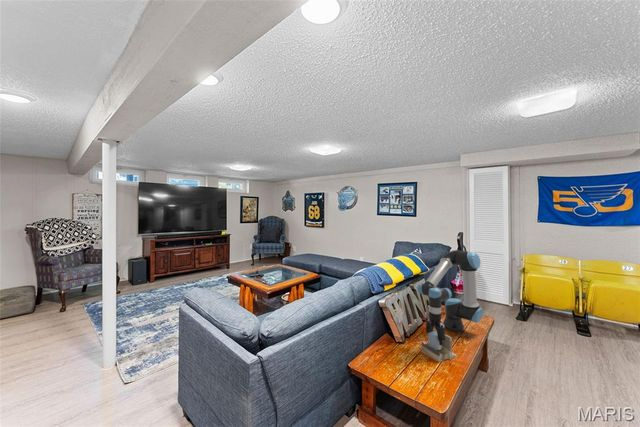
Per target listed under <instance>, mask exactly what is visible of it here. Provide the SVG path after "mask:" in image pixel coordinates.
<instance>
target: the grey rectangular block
mask: <svg viewBox="0 0 640 427" xmlns="http://www.w3.org/2000/svg"><path fill="white" fill-rule="evenodd" d="M427 335H428V336H427V337H428V338H427V341H428V343H427V344H429V347H431V348H433V349H434V350H438V334H437V332H436V331H433V332H430V333H427Z"/></svg>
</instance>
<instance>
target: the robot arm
mask: <svg viewBox="0 0 640 427" xmlns="http://www.w3.org/2000/svg"><path fill="white" fill-rule="evenodd" d="M480 258H481V257H480V255H479V254H478V253H477V252H473V251H465V250H456V249H455V250H451V251H448V252H446V253H445V254H444V255H442V257H441V258H440V259H439V262H438V264H437V265H436V266H435V269H434V270H433V271H432V272H431V273H430V275H429V276H428V278H427V279H426V280H425V282H424V283H419V284H418V285H417V287H416V290H417V292H418V293H419V294H421V295H423V296H427V297H428V317H426V318H425V333H427V334H428V333H430V332H433V328H434V329H436V330H437V334H438V350H440V349H442V341H443V340H445V334H446V331H445V330H448V331H451V332H455V333H461V332H464V331H465V326H464V323H463V321H462V320H463V319H464V320H466V321H470V322H472V323H477V324H478V323H479V322H481V321H482V319H483V316H484V309H483V308H482V307H480V303H479V302H478V296H477V295H478V294H477V284H476V282H477V280H476V272H477V271H478V269H479V268H480V266H481V259H480ZM453 266H457V267H459V270H460V271H461V273H462V289H463V291H462V292H463V301H462V299H460V298H452V295H453V293H452V291H451V290H450V289H449V288H448V287H443V288H440V287H437V286H438V285H439V283H440V282H441V281H442V279H443V277H444V276H445V275H446V273H447V272H448V270H449V269H450V268H452V267H453ZM443 302H444V303H445V305H444V306H445V307H444V308H445V318H444V320H443V322H442V321H441V320H442V303H443Z"/></svg>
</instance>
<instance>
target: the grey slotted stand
mask: <svg viewBox="0 0 640 427" xmlns="http://www.w3.org/2000/svg"><path fill="white" fill-rule="evenodd" d="M433 331H436V332H437V330H436V329H435V327H434V328H433ZM452 339H453V337H451V336H450V335H448V334H446V333H445V340H443V341H442V349H440V350H434V349H433V348H431V347H429V344H428V343H426V344H425V343H424V342H421V352H422V353H423V354H425V355H426V356H427V357H430V358H431V359H432V360H434V361H436V362H437V363H441V362H442V363H443V362H444V361H446V360H453V359H456V358H458V355H457V354H456V353H454V352H453V348H452V347H453V346H452V345H453V342H452V341H453V340H452Z"/></svg>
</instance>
